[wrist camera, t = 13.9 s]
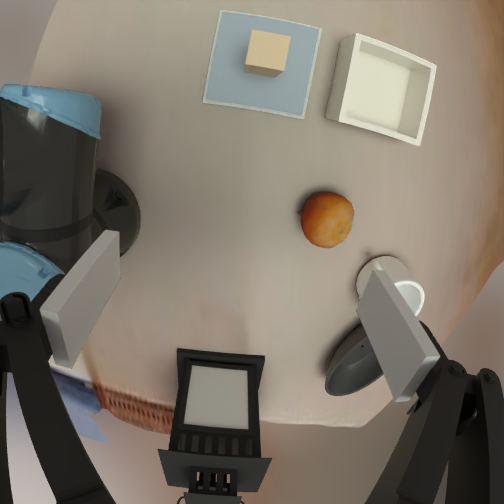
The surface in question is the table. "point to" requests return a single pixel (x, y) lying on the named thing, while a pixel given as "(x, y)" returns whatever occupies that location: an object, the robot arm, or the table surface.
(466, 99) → the table surface
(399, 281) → the mug
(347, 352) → the bowl
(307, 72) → the lid
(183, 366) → the lantern
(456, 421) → the robot arm
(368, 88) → the white open storage bin
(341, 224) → the fruit
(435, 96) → the table surface
